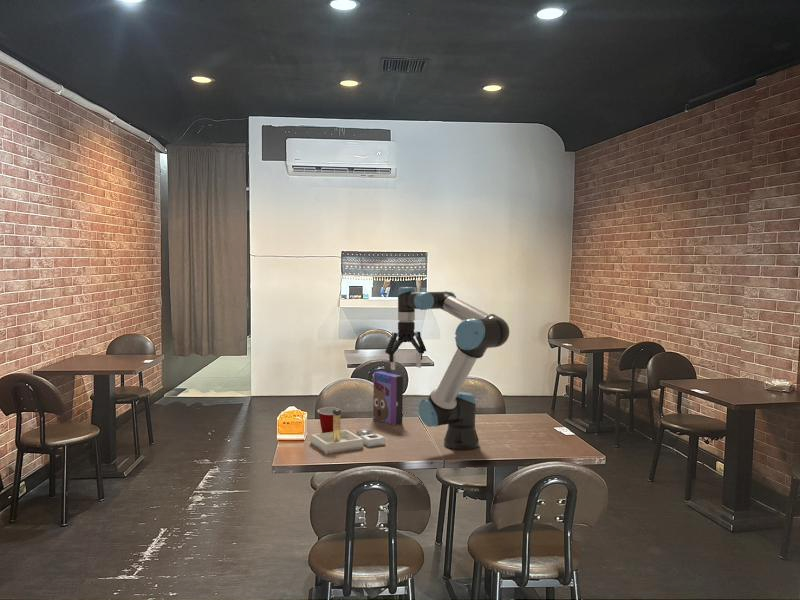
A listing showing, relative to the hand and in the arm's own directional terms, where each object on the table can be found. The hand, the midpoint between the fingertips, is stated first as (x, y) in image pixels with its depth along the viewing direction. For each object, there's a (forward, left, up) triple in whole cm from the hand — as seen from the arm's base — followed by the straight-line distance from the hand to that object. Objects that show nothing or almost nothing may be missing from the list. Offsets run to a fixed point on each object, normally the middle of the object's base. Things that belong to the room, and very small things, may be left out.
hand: (405, 368), depth 277 cm
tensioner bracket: (+2, +17, -32) cm, 36 cm away
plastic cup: (+18, +29, -32) cm, 47 cm away
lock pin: (+2, +33, -31) cm, 45 cm away
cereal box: (+30, -7, -32) cm, 45 cm away
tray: (+2, +33, -32) cm, 46 cm away
